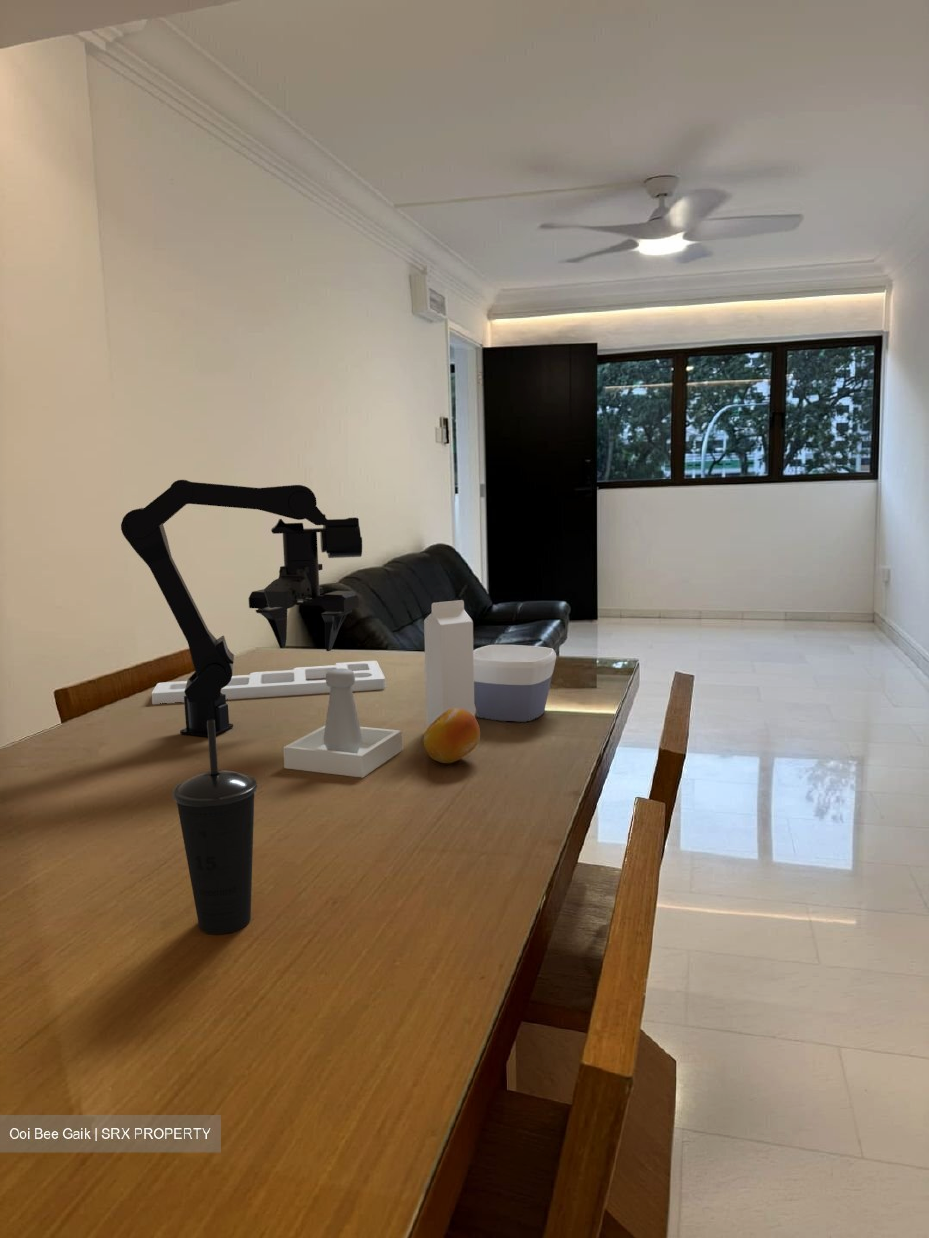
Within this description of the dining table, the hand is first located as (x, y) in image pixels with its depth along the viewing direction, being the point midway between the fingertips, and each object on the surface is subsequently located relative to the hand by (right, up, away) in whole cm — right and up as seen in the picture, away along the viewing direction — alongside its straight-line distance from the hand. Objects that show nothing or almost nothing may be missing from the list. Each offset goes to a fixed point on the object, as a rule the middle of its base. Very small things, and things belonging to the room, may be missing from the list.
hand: (305, 649), depth 149 cm
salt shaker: (+9, -15, -18) cm, 26 cm away
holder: (-12, -9, +30) cm, 33 cm away
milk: (+25, -14, -5) cm, 29 cm away
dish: (+9, -16, -18) cm, 26 cm away
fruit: (+26, -16, -20) cm, 37 cm away
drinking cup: (+4, -24, -66) cm, 71 cm away
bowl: (+36, -12, +5) cm, 38 cm away
